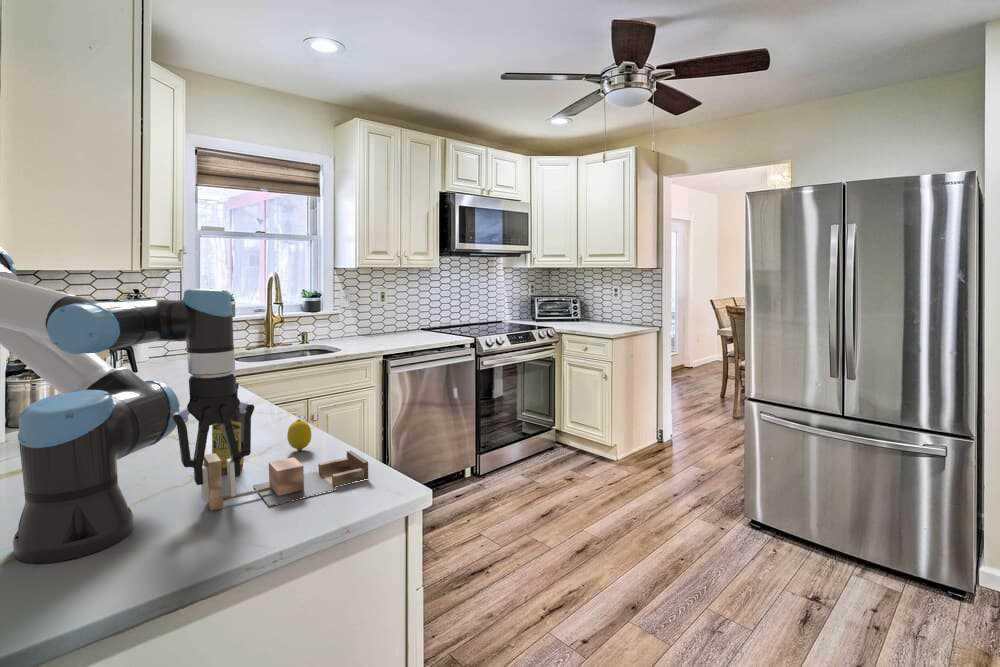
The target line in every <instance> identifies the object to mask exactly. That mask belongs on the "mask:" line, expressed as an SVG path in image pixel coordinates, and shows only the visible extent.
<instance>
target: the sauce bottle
mask: <svg viewBox="0 0 1000 667" xmlns="http://www.w3.org/2000/svg"><path fill="white" fill-rule="evenodd" d="M239 385H240V384H239V381H236V393H237V397H238V398H239V396H238V392H239V391H238V390H239V387H240V386H239ZM241 414H242V413H240V411H239V407H238V408H237V409H236V411H235V412H234V414H233V415H232V417H231V418H230V419H231V423H232V428H233V432H234V435H235V439H236V443H237V446H238V450H240V449H241ZM213 453H216V454H217V456H218V457H219V459H220V460H221V474H222V475H227V459H231V455H230V451H229V448H228V444H227V440H226V437H225V433H224V430H223V426H222V424H217V423H216V424H213V425H211V454H213ZM244 460H245V457H243V458H241V461H240V469H241V470H242V469H243V467H244Z"/></svg>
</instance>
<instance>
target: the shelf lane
mask: <svg viewBox="0 0 1000 667" xmlns="http://www.w3.org/2000/svg"><path fill="white" fill-rule="evenodd" d="M364 479H368V480H369V461H368V460H366V459H365V458H363V457H362V456H361V455H358V453H356V452H354V451H353V450H352V449H350V450H347V451H346V457H343V458H338V459H334V460H329V461H325V462H324V461H323V462H320V463H318V471H311V472H308V473H307V472H306V473H304V490H301V491H297V492H293V493H289V494H285V495H280V496H277V494H276V493H275V492H274V491H273V490H269V491H264V492H260V493H259V494H260V495H261V496H260V495H259V494H258V495H259V496H260V497H261V499H262V498H263V499H264V500H263V499H262V500H263V501H264V502H266V503H267V504H268V505H267V504H266V503H265V504H266V505H267V507H269V506H272V507H274V506H273V505H276V504H280V505H282V504H281V503H284V504H286V503H285V502H288V503H290V502H289V501H292V500H296V499H300V498H303V497H307V496H311V495H316V494H319V493H323V492H328V491H332V490H334V489H337V488H335V487H336V486H340V485H344V484H348V483H352V482H355V481H360V480H364ZM253 486H254V487H255V488H254V487H253ZM252 487H253V488H254V490H255V489H256V490H257V489H261V488H266V487H270V486H269V481H267V482H262V483H257V484H254V485H252ZM314 490H315V491H314ZM309 494H310V495H309ZM300 500H301V499H300ZM296 501H297V500H296ZM292 502H293V501H292ZM276 506H277V505H276Z"/></svg>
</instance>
